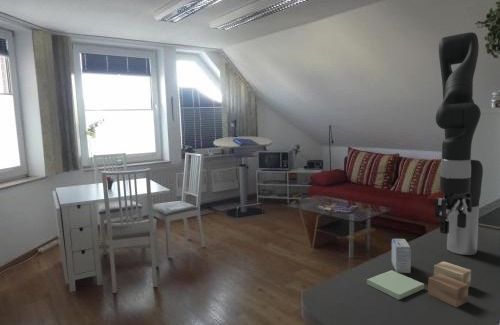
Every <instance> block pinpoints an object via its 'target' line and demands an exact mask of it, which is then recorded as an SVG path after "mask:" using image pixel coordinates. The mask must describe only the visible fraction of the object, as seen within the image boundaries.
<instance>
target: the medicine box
mask: <svg viewBox="0 0 500 325" xmlns="http://www.w3.org/2000/svg"><path fill="white" fill-rule="evenodd" d="M411 252H412V249H411V246H410V245H409V243H408V241H407V240H406V239H405V238H392V239H391V257H390V258H391V265H392V266H393V268H394V271H395V272H397V273H399V274H411V269H412V267H411V265H412V264H411V263H412V262H411V260H412V258H411V257H412V254H411Z"/></svg>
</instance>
